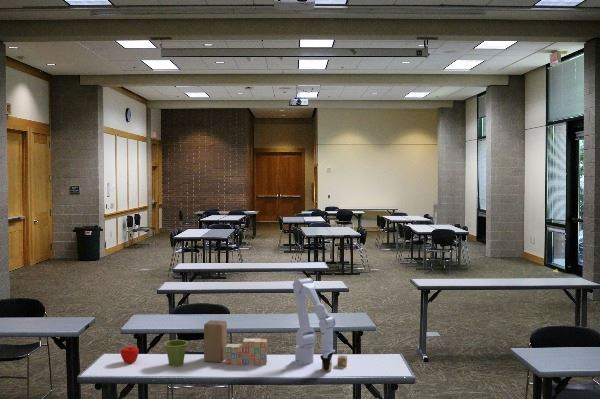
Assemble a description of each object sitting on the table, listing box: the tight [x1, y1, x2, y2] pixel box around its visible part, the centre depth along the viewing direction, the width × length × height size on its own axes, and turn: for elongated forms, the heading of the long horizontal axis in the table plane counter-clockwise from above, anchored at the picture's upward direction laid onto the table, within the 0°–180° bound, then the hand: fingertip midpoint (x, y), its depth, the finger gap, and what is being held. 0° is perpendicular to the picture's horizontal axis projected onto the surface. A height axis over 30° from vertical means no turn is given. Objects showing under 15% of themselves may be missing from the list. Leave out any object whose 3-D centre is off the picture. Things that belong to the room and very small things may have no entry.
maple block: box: [321, 359, 333, 372], centre depth 286 cm, size 4×4×4 cm
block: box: [203, 319, 228, 363], centre depth 304 cm, size 10×10×20 cm
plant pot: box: [164, 339, 189, 367], centre depth 296 cm, size 12×12×11 cm
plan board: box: [335, 362, 350, 369], centre depth 290 cm, size 14×16×1 cm
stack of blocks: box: [224, 337, 268, 366], centre depth 299 cm, size 21×6×12 cm, turn 88°
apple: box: [120, 346, 139, 364], centre depth 299 cm, size 9×9×8 cm
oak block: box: [337, 354, 348, 368], centre depth 293 cm, size 4×4×4 cm
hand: (326, 368), depth 286 cm, fingers closed on maple block, 4 cm apart
